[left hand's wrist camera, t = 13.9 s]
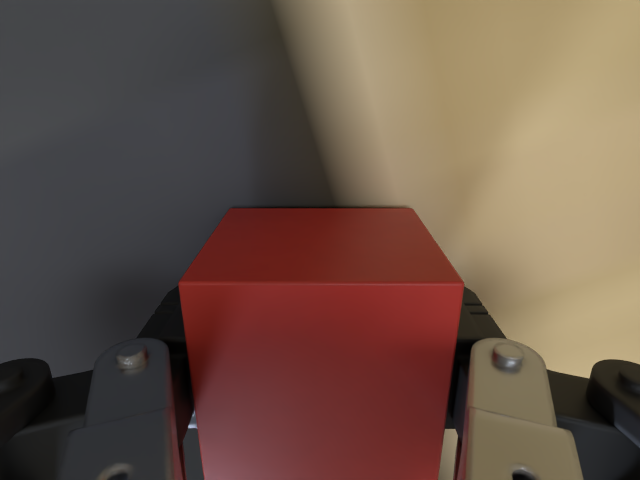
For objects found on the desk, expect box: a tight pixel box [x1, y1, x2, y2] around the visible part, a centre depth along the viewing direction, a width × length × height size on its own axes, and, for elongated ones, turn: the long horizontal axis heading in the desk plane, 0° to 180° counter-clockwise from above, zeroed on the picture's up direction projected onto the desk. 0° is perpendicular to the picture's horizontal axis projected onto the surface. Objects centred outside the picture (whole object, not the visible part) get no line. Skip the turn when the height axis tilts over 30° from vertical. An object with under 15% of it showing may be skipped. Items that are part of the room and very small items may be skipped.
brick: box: [178, 208, 464, 480], centre depth 10 cm, size 5×5×4 cm
